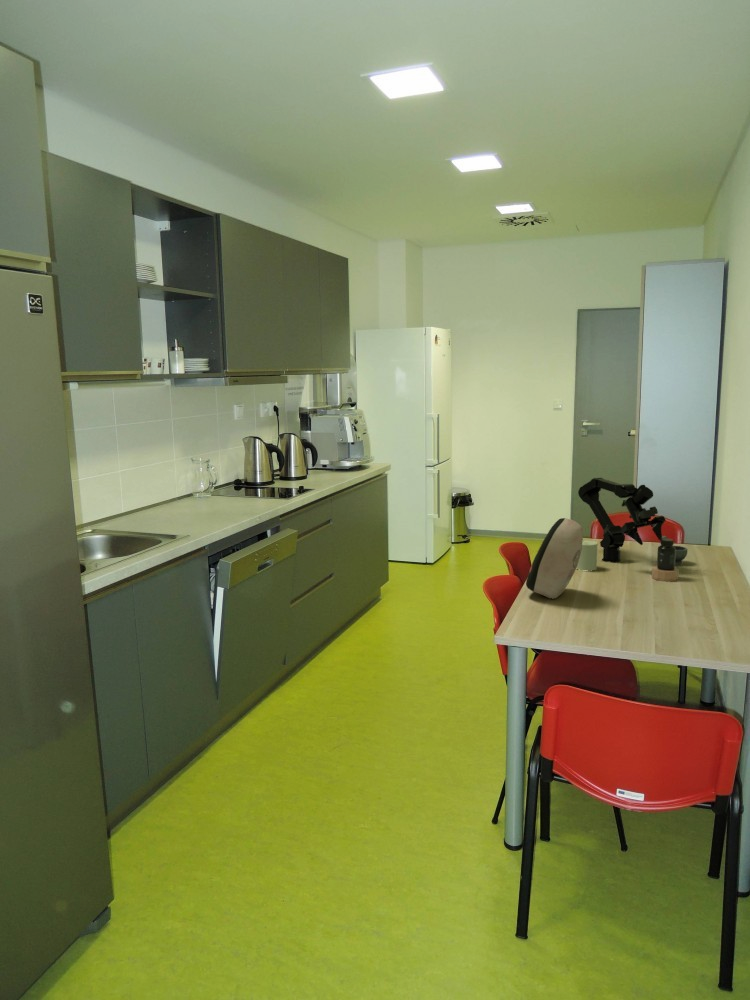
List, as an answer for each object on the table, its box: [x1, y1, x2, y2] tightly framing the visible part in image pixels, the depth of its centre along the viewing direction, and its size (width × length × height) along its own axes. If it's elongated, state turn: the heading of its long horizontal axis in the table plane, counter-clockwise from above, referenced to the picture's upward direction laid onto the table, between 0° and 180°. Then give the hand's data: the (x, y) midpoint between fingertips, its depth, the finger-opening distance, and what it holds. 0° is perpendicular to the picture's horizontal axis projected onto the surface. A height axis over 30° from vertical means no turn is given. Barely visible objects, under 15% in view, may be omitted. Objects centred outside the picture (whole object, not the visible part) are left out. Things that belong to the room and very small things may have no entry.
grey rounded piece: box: [525, 517, 584, 600], centre depth 272 cm, size 22×20×30 cm
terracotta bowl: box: [651, 565, 680, 582], centre depth 294 cm, size 10×10×4 cm
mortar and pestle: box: [662, 535, 688, 566], centre depth 317 cm, size 11×9×12 cm
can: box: [576, 539, 599, 572], centre depth 310 cm, size 9×9×12 cm
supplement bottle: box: [656, 538, 676, 570], centre depth 293 cm, size 7×7×12 cm
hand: (651, 542), depth 300 cm, fingers open, 9 cm apart
